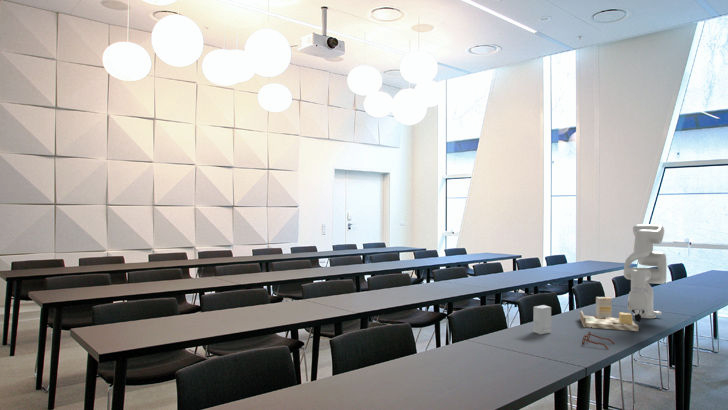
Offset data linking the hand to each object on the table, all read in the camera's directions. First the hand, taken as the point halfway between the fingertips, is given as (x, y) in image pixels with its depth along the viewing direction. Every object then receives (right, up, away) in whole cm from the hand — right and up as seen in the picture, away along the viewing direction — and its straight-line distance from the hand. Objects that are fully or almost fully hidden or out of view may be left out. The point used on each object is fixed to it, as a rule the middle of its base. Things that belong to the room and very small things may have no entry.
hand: (637, 321), depth 288 cm
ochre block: (-6, -1, +2) cm, 7 cm away
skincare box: (-62, -3, -14) cm, 63 cm away
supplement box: (-9, -4, +24) cm, 26 cm away
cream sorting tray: (-15, -3, +5) cm, 16 cm away
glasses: (-41, -4, -36) cm, 54 cm away
